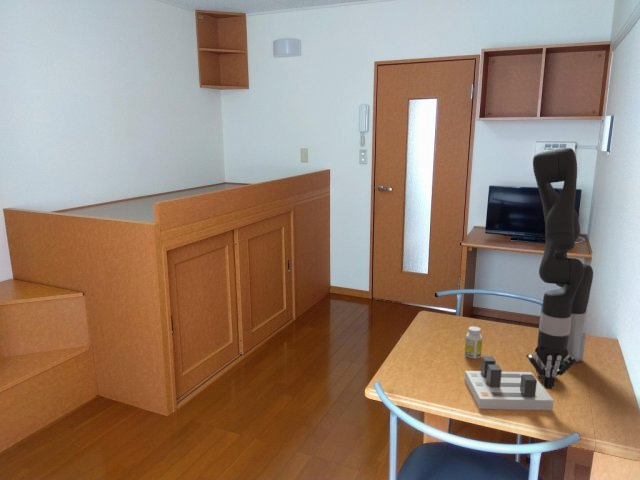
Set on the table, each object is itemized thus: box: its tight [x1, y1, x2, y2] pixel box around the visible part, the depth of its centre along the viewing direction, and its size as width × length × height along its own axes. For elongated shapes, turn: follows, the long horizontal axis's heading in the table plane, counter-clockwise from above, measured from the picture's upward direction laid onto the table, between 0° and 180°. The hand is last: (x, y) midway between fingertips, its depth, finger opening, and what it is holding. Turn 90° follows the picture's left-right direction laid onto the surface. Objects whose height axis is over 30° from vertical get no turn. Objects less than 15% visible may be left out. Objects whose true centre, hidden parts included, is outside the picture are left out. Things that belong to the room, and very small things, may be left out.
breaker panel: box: [464, 355, 555, 411], centre depth 141 cm, size 20×16×8 cm
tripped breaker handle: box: [520, 374, 538, 397], centre depth 135 cm, size 3×3×5 cm
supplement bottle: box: [464, 325, 483, 359], centre depth 166 cm, size 5×5×10 cm
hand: (547, 387), depth 135 cm, fingers closed
